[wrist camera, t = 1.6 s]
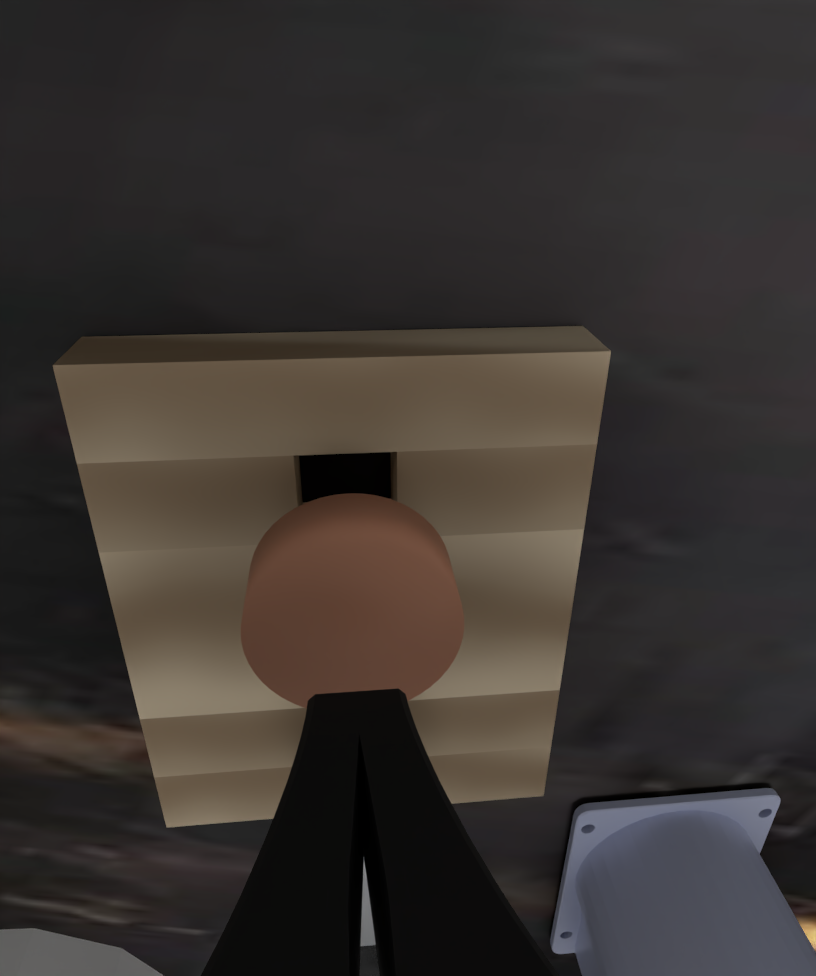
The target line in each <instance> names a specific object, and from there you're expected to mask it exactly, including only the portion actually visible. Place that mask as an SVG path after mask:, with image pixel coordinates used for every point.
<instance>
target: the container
mask: <svg viewBox="0 0 816 976" xmlns="http://www.w3.org/2000/svg"><path fill="white" fill-rule="evenodd" d="M0 976H163V975H162V974H160V973H159V972H157V971H156V970H154V969H153V968H151V967H150V966H148V965H147V964H145V963H144V962H142V961H140V960H139V959H137V958H136V957H134V956H133V955H131V954H130V953H128V952H127V951H125V950H124V949H122V948H118V947H114V946H110V945H105V944H101V943H96V942H92V941H88V940H83V939H79V938H74V937H70V936H66V935H61V934H57V933H52V932H48V931H44V930H39V929H35V928H28V929H5V930H0Z"/></svg>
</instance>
